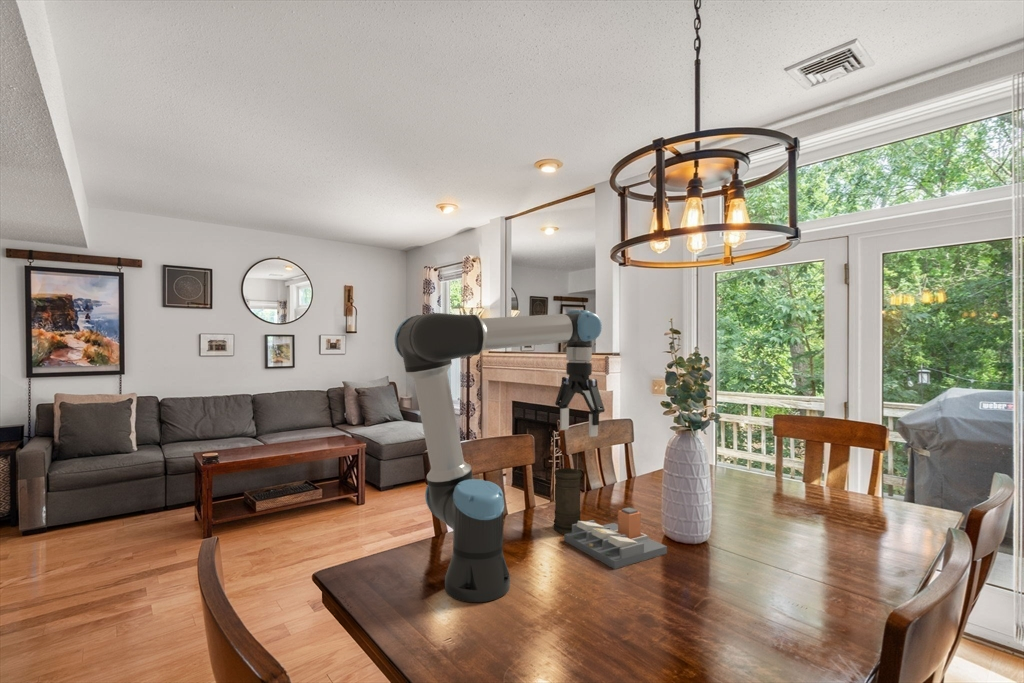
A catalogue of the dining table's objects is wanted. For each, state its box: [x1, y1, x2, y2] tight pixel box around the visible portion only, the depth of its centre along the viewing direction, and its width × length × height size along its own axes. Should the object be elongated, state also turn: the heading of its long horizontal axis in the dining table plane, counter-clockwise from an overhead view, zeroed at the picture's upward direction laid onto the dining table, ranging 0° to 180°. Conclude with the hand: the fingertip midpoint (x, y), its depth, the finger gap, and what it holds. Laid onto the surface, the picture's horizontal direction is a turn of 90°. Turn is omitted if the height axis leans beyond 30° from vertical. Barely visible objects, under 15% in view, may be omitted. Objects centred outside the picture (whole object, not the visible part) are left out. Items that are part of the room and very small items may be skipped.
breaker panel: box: [563, 519, 668, 570], centre depth 138 cm, size 19×21×4 cm
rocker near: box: [608, 536, 638, 547], centre depth 131 cm, size 7×4×2 cm, turn 121°
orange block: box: [617, 507, 642, 539], centre depth 142 cm, size 4×4×8 cm
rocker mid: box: [592, 528, 621, 539], centre depth 137 cm, size 7×4×2 cm, turn 121°
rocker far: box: [577, 520, 605, 531], centre depth 143 cm, size 7×4×2 cm, turn 121°
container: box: [552, 467, 583, 535], centre depth 152 cm, size 9×9×18 cm
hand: (578, 433), depth 147 cm, fingers open, 13 cm apart
